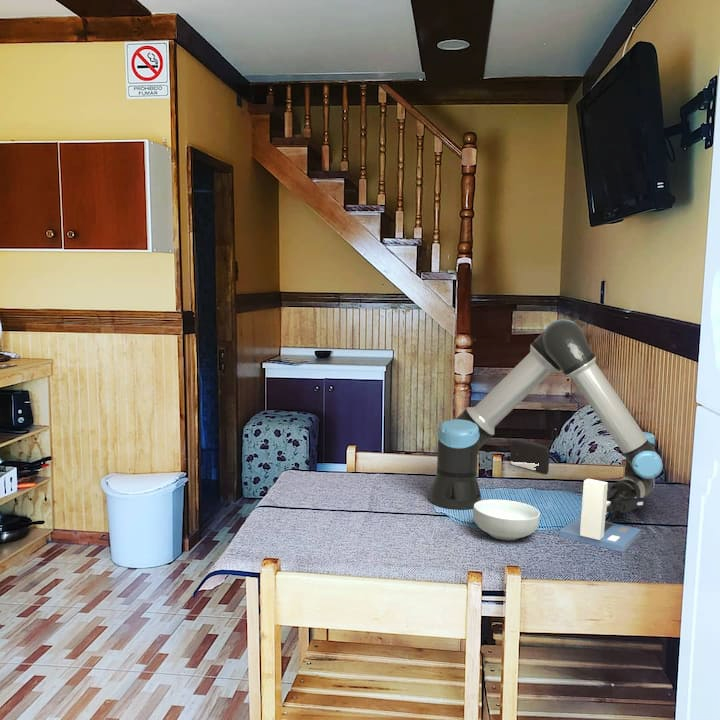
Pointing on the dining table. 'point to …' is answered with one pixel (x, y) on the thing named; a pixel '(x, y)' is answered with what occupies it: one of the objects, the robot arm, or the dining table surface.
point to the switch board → (613, 537)
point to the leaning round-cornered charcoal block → (530, 454)
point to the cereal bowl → (506, 518)
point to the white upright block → (593, 509)
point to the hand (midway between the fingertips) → (599, 511)
